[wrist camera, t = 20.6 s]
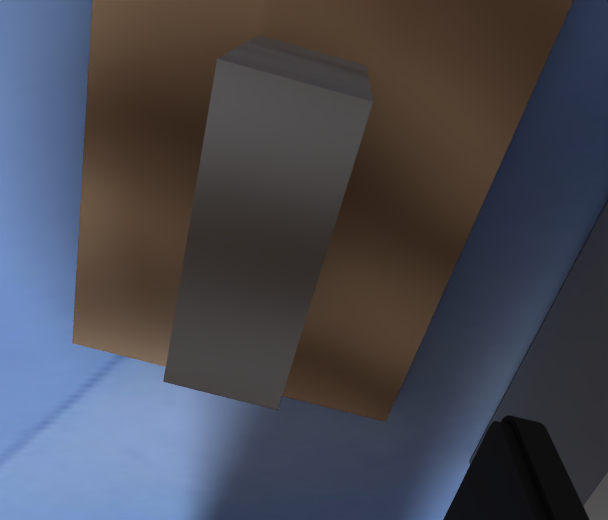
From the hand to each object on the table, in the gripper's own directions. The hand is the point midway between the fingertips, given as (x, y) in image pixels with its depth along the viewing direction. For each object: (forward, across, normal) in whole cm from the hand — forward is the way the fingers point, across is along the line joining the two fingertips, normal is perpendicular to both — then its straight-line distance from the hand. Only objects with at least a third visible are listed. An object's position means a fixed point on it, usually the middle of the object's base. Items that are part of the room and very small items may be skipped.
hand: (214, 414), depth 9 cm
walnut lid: (+10, 0, -2) cm, 10 cm away
